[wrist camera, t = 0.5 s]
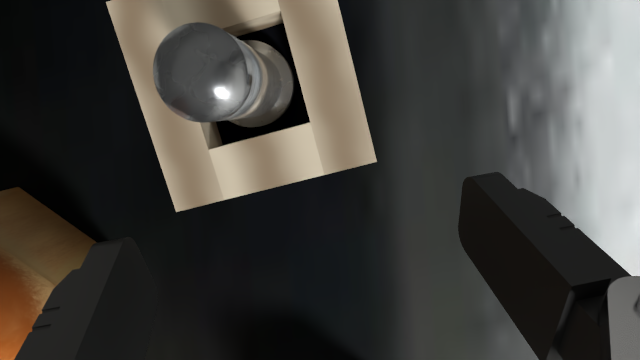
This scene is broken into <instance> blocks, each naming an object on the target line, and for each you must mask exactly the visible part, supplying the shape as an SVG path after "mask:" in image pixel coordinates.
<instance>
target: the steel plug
mask: <svg viewBox="0 0 640 360" xmlns="http://www.w3.org/2000/svg"><path fill="white" fill-rule="evenodd" d="M153 77H154V82H155V86H156V89H157V91H158V94H159V95H160V97H161V99H162V100H163V102H164V103H165V104H166V106H167V107H168V108H169V109H170V110H172V111H173V112H174V113H175V114H177V115H178V116H180V117H182V118H184V119H187V120H189V121H193V122H202V123H204V122H215V121H223V120H229V121H230V122H232V123H234V124H237V125H240V126H244V127H259V126H264V125H267V124H270V123H272V122H274V121H276V120H277V119H279V118H280V117H281V116H282V115H283V114H284V113H285V112H286V111H287V109H288V108H289V106H290V104H291V102H292V99H293V96H294V89H295V83H294V76H293V73H292V70H291V67H290V65H289V64H288V62H287V61H286V59H285V58H284V57H283V56H282V55H281V54H280V53H279V52H278V51H277V50H275V49H274V48H272V47H271V46H269V45H267V44H265V43H263V42H260V41H255V40H243V41H241V40H239V39H237V38H236V37H234V36H233V35H231V34H229V33H228V32H226V31H224V30H223V29H221V28H219V27H217V26H214V25H212V24H208V23H200V22H195V23H188V24H184V25H182V26H179V27H177V28H176V29H174V30H172V31H171V32H170V33H169V34H168V35H167V36H166V37H165V38H164V39H163V40H162V42H161V43H160V45H159V47H158V49H157V51H156V54H155V57H154V62H153Z"/></svg>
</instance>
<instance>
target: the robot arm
mask: <svg viewBox="0 0 640 360" xmlns="http://www.w3.org/2000/svg"><path fill="white" fill-rule="evenodd" d="M458 231H459V237H460V241H461V244H462V246H463V248H464V250H465V252H466V253H467V255H468V256H469V258H470V259H471V260H472V262H473V263H474V265H475V266H476V268H477V269H478V271H479V272H480V274H481V275H482V277H483V278H484V280H485V281H486V282H487V284H488V285H489V287H490V288H491V290H492V291H493V293H494V294H495V296H496V297H497V299H498V300H499V301H500V303H501V304H502V306H503V307H504V309H505V310H506V312H507V313H508V315H509V316H510V318H511V319H512V321H513V322H514V323H515V325H516V326H517V328H518V329H519V331H520V332H521V334H522V335H523V337H524V338H525V340H526V341H527V343H528V344H529V345H530V347H531V348H532V350H533V351H534V353H535V354H536V356H537V357H538V359H539V360H640V276H631V275H630V274H629V273H628V272H627V271H625V270H624V269H623V268H622V267H621V266H620V265H619V264H618V263H616V262H615V261H614V260H613V259H612V258H611V257H610V256H609V255H608V254H606V253H605V252H604V251H603V250H602V249H601V248H600V247H599V246H597V245H596V244H595V243H594V242H593V241H592V240H591V239H590V238H588V237H587V236H586V235H585V234H584V233H583V232H582V231H581V230H580V229H578V228H575V227H574V224H573V223H572V222H571V221H569V220H568V219H567V218H566V217H565V216H561V213H560V212H559V211H558V210H557V209H556V208H555V207H554V206H553V205H551V204H550V203H549V202H548V201H547V200H546V199H544V198H542V197H540V196H538V195H536V194H534V193H532V192H530V191H528V190H526V189H524V188H521V189H517V188H516V187H515V186H514V185H513V184H512V183H511V182H510V181H509V180H508V179H507V178H505V177H504V176H503V175H502V174H501V173H499V172H494V173H488V174H483V175H477V176H472V177H467V178H466V179H465V180H464V182H463V187H462V196H461V206H460V215H459V225H458ZM157 306H158V294H157V288H156V285H155V282H154V280H153V278H152V276H151V273H150V271H149V269H148V267H147V265H146V263H145V261H144V259H143V257H142V255H141V253H140V251H139V249H138V247H137V245H136V243H135V241H134V240H133V239H132V238H130V237H127V238H121V239H116V240H110V241H104V242H99V243H95V244H93V245H92V246H91V248H90V250H89V251H88V253H87V255H86V257H85V259H84V261H83V263H82V265H81V267H80V269H74V270H72V271H71V272H70V273H69V274H68V275H67V276H66V277H65V278H64V279H63V280H62V281H61V282H60V283H59V284H58V285H57V286H56V287H55V288H54V289H53V290H52V292H51V294H50V296H49V298H48V299H47V301H46V303H45V305H44V307H43V308H42V314H39V316H38V317H37V319H36V321H35V323H34V325H33V326H32V332H29V334H28V335H27V337H26V339H25V341H24V343H23V344H22V346H21V348H20V350H19V352H18V353H17V355H16V357H15V359H14V360H145V356H146V352H147V348H148V344H149V340H150V336H151V332H152V328H153V324H154V320H155V316H156V311H157Z"/></svg>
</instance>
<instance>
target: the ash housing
mask: <svg viewBox="0 0 640 360" xmlns="http://www.w3.org/2000/svg"><path fill="white" fill-rule="evenodd" d="M106 4H107V7H108V10H109V13H110V16H111V19H112V22H113V25H114V28H115V31H116V34H117V37H118V40H119V43H120V46H121V49H122V52H123V55H124V58H125V61H126V64H127V67H128V70H129V72H130V75H131V78H132V81H133V84H134V87H135V90H136V93H137V96H138V99H139V102H140V105H141V108H142V111H143V114H144V117H145V120H146V123H147V126H148V129H149V132H150V135H151V138H152V141H153V144H154V147H155V150H156V153H157V156H158V159H159V162H160V165H161V168H162V171H163V174H164V177H165V180H166V183H167V186H168V189H169V192H170V195H171V198H172V201H173V204H174V207H175V210H176V212H178V211H182V210H186V209H190V208H194V207H198V206H202V205H206V204H210V203H214V202H218V201H222V200H226V199H230V198H234V197H238V196H242V195H246V194H250V193H254V192H258V191H262V190H266V189H270V188H274V187H278V186H282V185H286V184H290V183H294V182H298V181H302V180H306V179H310V178H314V177H318V176H322V175H326V174H330V173H334V172H338V171H342V170H346V169H350V168H354V167H358V166H362V165H366V164H370V163H374V162H377V161H376V157H375V153H374V148H373V144H372V140H371V136H370V132H369V128H368V124H367V120H366V116H365V111H364V107H363V103H362V99H361V95H360V91H359V87H358V83H357V78H356V74H355V70H354V66H353V62H352V58H351V54H350V50H349V46H348V41H347V37H346V33H345V29H344V25H343V21H342V17H341V13H340V9H339V4H338V0H111V1H108V2H106ZM195 22H200V23H208V24H212V25H214V26H217V27H219V28H221V29H223V30H224V31H226V32H228V33H229V34H231V35H233V36H234V37H238V36H241V35H244V34H248V33H251V32H254V31H258V30H261V29H264V28H268V27H271V26H274V25H278V24H281V23H284V26H285V30H286V33H287V37H288V41H289V45H290V48H291V52H292V56H293V60H294V63H295V67H296V71H297V75H298V78H299V82H300V86H301V90H302V93H303V97H304V101H305V104H306V108H307V112H308V116H309V119H310V122H308V123H305V124H301V125H297V126H293V127H290V128H286V129H282V130H278V131H275V132H271V133H267V134H263V135H260V136H256V137H252V138H249V139H245V140H241V141H237V142H234V143H230V144H226V145H223V144H222V141H221V137H220V134H219V131H218V128H217V124H216V121H215V122H204V123H202V122H193V121H189V120H187V119H184V118H182V117H180V116H178V115H177V114H175V113H174V112H173V111H172V110H170V109H169V108H168V107H167V106H166V104H165V103H164V102H163V100H162V99H161V97H160V95H159V94H158V91H157V89H156V86H155V82H154V77H153V62H154V57H155V54H156V51H157V49H158V47H159V45H160V43H161V42H162V40H163V39H164V38H165V37H166V36H167V35H168V34H169V33H170V32H171V31H172V30H174V29H176V28H177V27H179V26H182V25H184V24H188V23H195Z"/></svg>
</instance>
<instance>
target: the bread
mask: <svg viewBox="0 0 640 360" xmlns="http://www.w3.org/2000/svg"><path fill="white" fill-rule="evenodd" d="M95 243H97V242H96V241H94V240H93V239H91V238H90V237H88V236H87V235H86V234H84V233H83V232H81V231H80V230H79V229H77V228H76V227H74V226H73V225H72V224H70V223H69V222H67V221H66V220H64V219H63V218H62V217H60V216H59V215H57V214H56V213H55V212H53V211H52V210H50V209H49V208H47V207H46V206H45V205H43V204H42V203H40V202H39V201H38V200H36V199H35V198H33V197H32V196H31V195H29V194H28V193H26V192H25V191H23V190H22V189H21V188H19V187H15V188H11V189H7V190H3V191H0V360H14V359H15V357H16V355H17V353H18V352H19V350H20V348H21V346H22V344H23V343H24V341H25V339H26V337H27V335H28V334H29V332H32V326H33V325H34V323H35V321H36V319H37V317H38V316H39V314H42V308H43V307H44V305H45V303H46V301H47V299H48V298H49V296H50V294H51V292H52V290H53V289H54V288H55V287H56V286H57V285H58V284H59V283H60V282H61V281H62V280H63V279H64V278H65V277H66V276H67V275H68V274H69V273H70V272H71V271H72V270H74V269H80V267H81V265H82V263H83V261H84V259H85V257H86V255H87V253H88V251H89V250H90V248H91V246H92V245H93V244H95Z"/></svg>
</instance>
